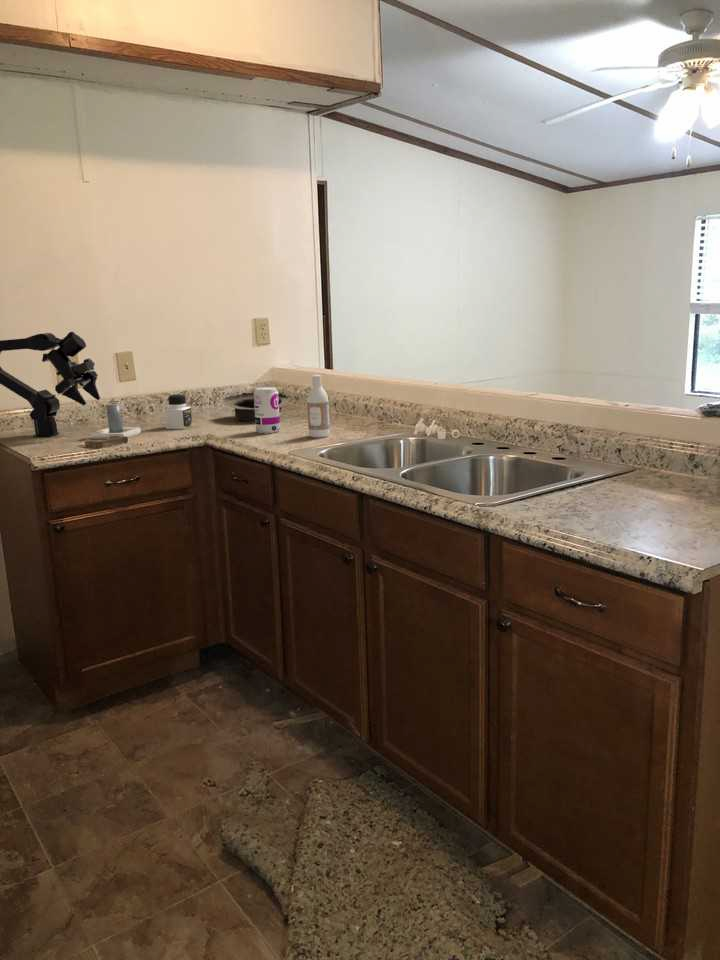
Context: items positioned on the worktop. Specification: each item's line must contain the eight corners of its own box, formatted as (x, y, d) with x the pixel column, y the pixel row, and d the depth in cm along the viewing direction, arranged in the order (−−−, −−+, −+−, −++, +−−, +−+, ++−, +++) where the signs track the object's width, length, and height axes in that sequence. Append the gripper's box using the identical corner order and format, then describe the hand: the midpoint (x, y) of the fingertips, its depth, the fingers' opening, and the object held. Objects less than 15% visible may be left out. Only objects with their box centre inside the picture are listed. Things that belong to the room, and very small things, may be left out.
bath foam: (305, 437, 255) (302, 376, 251) (313, 434, 262) (310, 374, 257) (325, 438, 253) (323, 376, 249) (332, 434, 260) (330, 374, 255)
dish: (91, 439, 264) (90, 433, 263) (109, 432, 275) (108, 427, 275) (124, 439, 261) (123, 433, 261) (140, 433, 273) (140, 427, 272)
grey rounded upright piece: (107, 435, 265) (104, 406, 263) (108, 433, 270) (105, 404, 268) (124, 434, 266) (121, 405, 264) (125, 432, 271) (122, 403, 269)
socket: (85, 446, 251) (84, 440, 251) (114, 440, 260) (113, 434, 259) (99, 448, 247) (98, 442, 246) (128, 442, 255) (127, 436, 255)
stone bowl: (255, 411, 315) (255, 388, 312) (303, 420, 301) (303, 396, 298) (210, 419, 295) (210, 395, 293) (259, 429, 281) (259, 404, 279)
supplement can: (284, 430, 270) (282, 387, 267) (272, 434, 263) (269, 390, 260) (264, 429, 274) (261, 386, 270) (251, 433, 266) (248, 389, 263)
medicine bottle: (184, 429, 278) (181, 395, 275) (165, 429, 280) (163, 395, 277) (192, 426, 285) (190, 393, 282) (174, 426, 286) (171, 393, 284)
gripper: (64, 355, 256) (94, 394, 258) (93, 347, 273) (121, 384, 275) (41, 374, 259) (71, 412, 261) (72, 365, 277) (100, 401, 279)
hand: (92, 402), depth 269 cm, fingers open, 9 cm apart
